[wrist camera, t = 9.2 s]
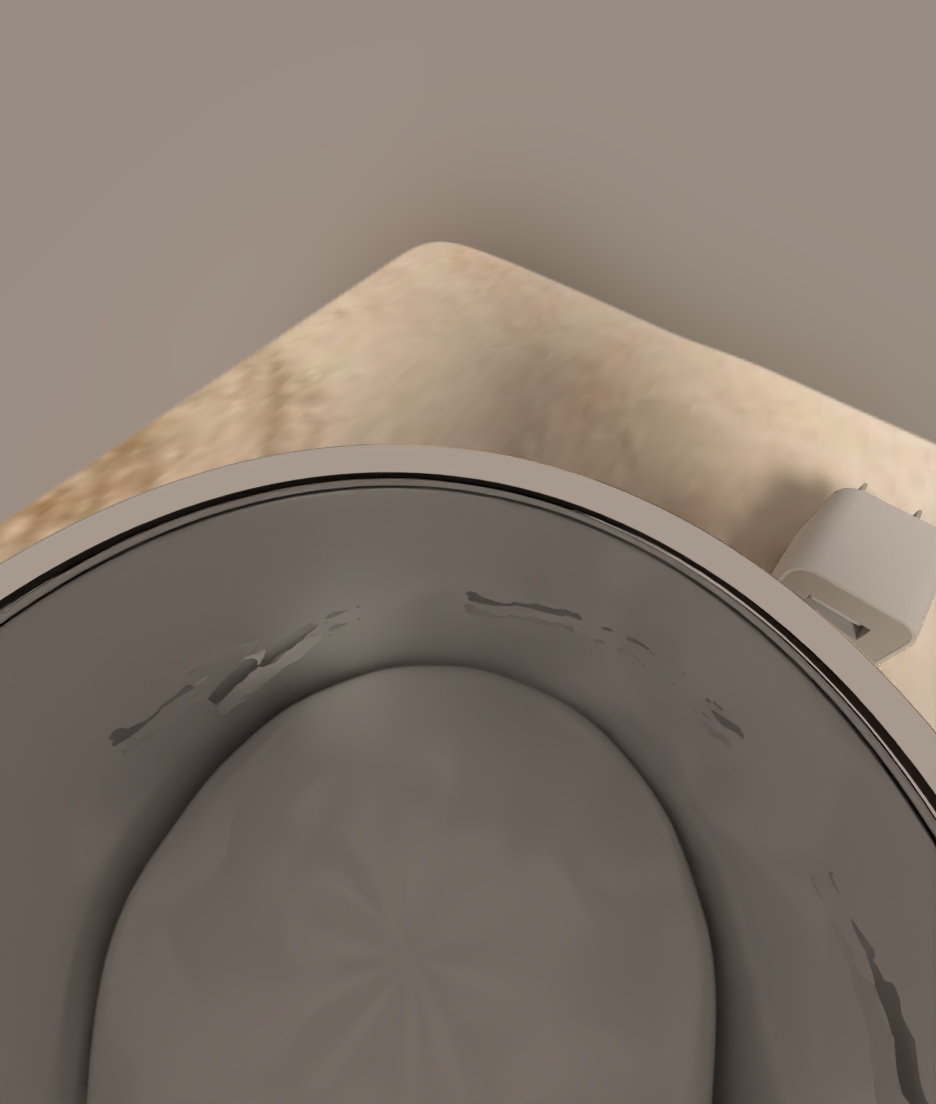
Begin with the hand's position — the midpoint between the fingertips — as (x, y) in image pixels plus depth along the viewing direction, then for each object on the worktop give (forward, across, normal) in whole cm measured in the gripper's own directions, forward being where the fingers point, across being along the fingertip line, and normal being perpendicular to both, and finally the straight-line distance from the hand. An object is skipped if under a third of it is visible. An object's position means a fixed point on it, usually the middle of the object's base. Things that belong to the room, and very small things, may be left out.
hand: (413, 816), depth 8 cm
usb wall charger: (+14, -15, 0) cm, 20 cm away
